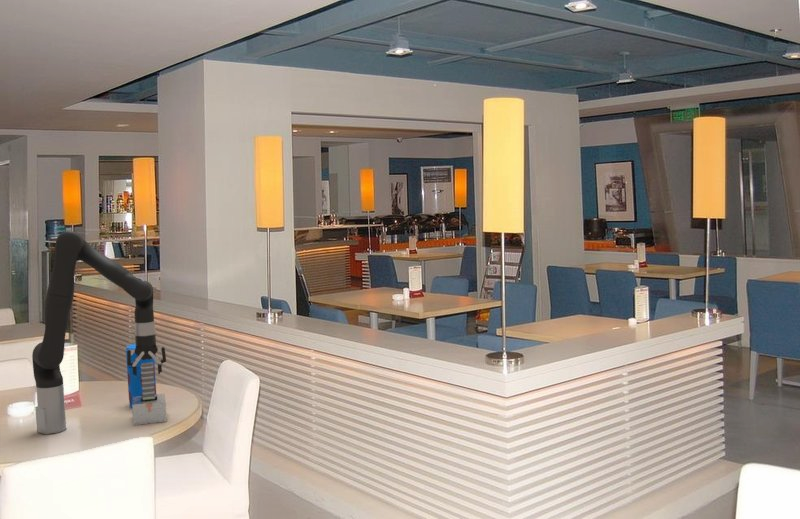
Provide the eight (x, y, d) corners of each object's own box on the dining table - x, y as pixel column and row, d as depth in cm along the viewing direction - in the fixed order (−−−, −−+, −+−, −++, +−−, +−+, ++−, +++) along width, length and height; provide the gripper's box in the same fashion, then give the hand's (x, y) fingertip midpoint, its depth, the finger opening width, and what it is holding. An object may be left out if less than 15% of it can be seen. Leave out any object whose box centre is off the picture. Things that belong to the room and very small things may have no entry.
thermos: (161, 402, 329) (157, 343, 327) (150, 409, 319) (147, 348, 316) (136, 401, 330) (132, 343, 328) (124, 409, 320) (121, 348, 317)
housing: (166, 422, 300) (165, 401, 300) (133, 425, 297) (132, 405, 296) (165, 413, 312) (164, 393, 312) (134, 416, 309) (132, 396, 308)
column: (155, 405, 303) (153, 364, 301) (143, 406, 302) (140, 365, 300) (155, 402, 307) (153, 361, 306) (143, 403, 306) (140, 362, 304)
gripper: (164, 330, 307) (166, 370, 309) (125, 333, 303) (128, 374, 305) (164, 333, 300) (167, 375, 302) (125, 336, 296) (127, 378, 298)
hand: (147, 374), depth 303 cm, fingers open, 8 cm apart
